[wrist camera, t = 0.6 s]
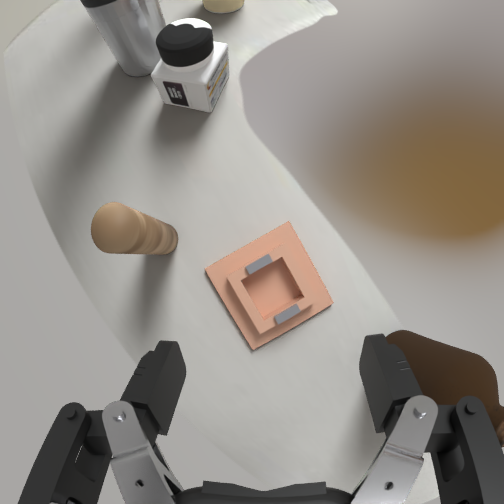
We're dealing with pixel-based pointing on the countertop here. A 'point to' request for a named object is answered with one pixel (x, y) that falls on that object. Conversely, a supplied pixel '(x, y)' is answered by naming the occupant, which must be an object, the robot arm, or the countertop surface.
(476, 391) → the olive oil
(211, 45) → the container
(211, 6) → the coffee cup
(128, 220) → the tall wooden cylinder
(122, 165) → the countertop surface
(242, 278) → the clip base
